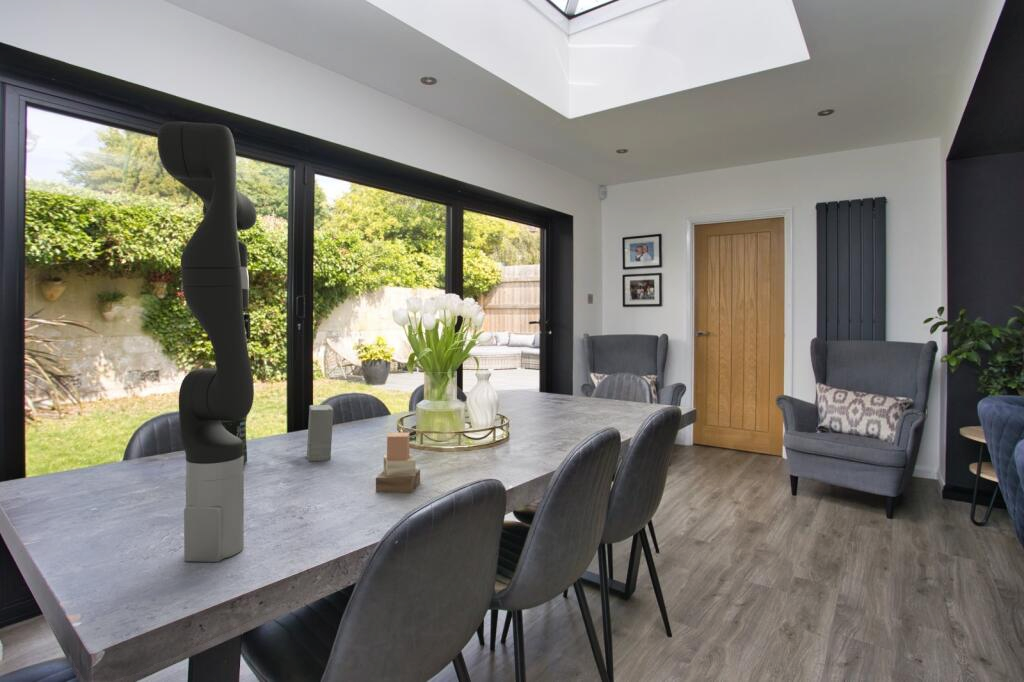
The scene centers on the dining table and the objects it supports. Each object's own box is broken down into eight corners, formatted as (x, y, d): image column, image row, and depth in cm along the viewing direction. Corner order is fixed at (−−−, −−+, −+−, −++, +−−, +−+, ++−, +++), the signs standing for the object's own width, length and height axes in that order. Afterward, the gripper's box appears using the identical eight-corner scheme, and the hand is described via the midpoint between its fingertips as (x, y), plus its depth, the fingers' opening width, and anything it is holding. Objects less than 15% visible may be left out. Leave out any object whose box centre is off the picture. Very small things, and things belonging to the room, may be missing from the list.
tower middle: (415, 475, 139) (415, 460, 139) (387, 478, 136) (387, 462, 136) (410, 468, 145) (410, 453, 145) (383, 470, 143) (383, 455, 143)
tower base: (411, 494, 136) (411, 478, 136) (375, 493, 137) (375, 477, 137) (420, 484, 145) (420, 469, 145) (386, 483, 146) (386, 468, 146)
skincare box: (306, 455, 172) (306, 405, 171) (330, 453, 175) (330, 403, 174) (308, 462, 164) (308, 409, 163) (333, 459, 167) (333, 407, 166)
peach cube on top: (407, 460, 138) (407, 436, 138) (387, 460, 138) (387, 436, 138) (409, 455, 143) (409, 432, 143) (389, 455, 143) (390, 432, 143)
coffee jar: (232, 471, 153) (232, 404, 152) (205, 469, 154) (205, 403, 153) (252, 462, 163) (252, 399, 162) (227, 461, 164) (227, 398, 163)
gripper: (230, 285, 117) (230, 362, 117) (261, 289, 131) (261, 357, 131) (195, 284, 117) (195, 361, 117) (229, 288, 131) (229, 357, 131)
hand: (230, 359), depth 124 cm, fingers open, 8 cm apart
